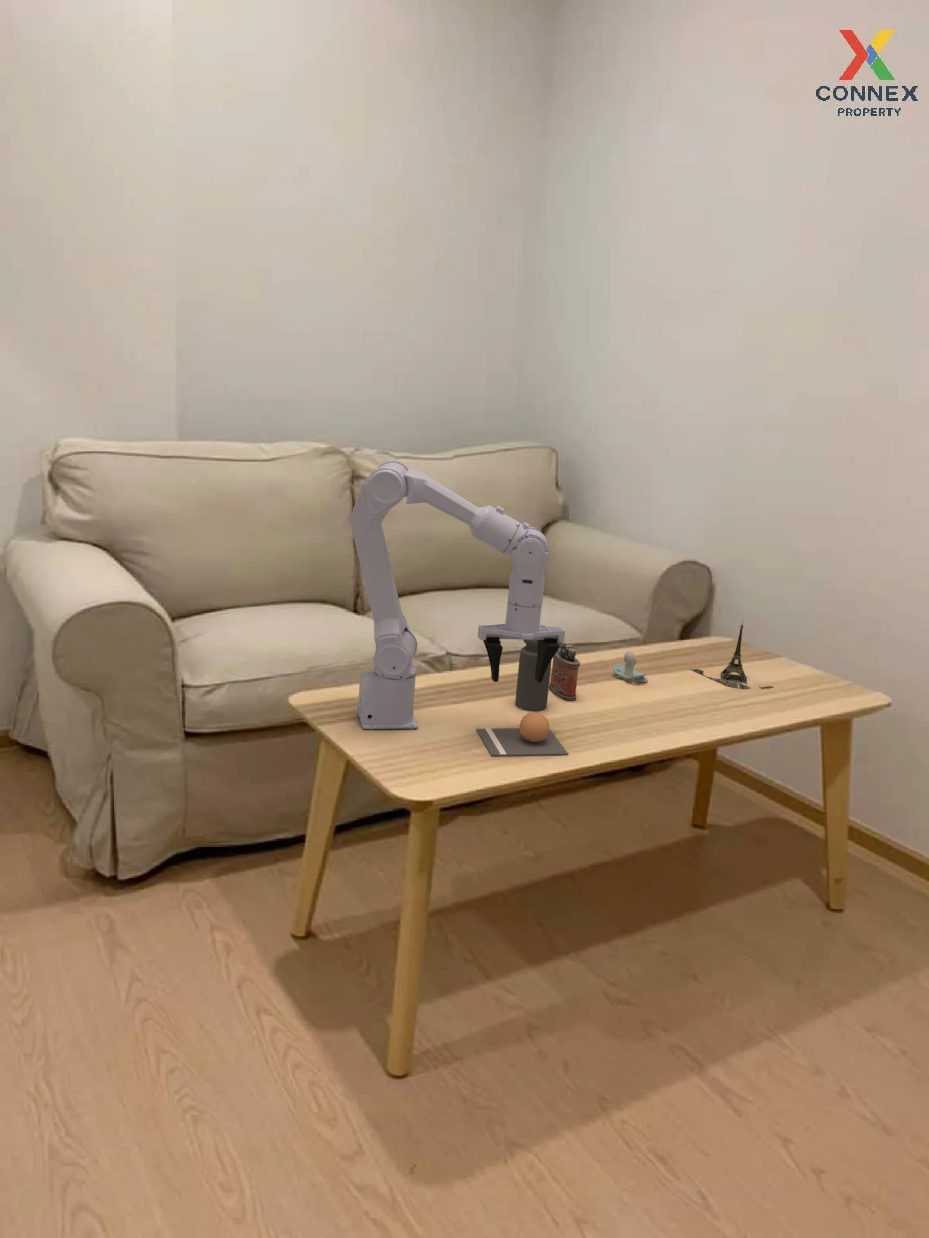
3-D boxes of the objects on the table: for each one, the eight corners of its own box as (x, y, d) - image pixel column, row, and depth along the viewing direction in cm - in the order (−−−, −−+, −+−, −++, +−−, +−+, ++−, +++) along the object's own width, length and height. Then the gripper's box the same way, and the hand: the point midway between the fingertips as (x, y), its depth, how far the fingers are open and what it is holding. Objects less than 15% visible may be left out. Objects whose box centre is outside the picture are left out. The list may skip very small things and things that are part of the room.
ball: (522, 747, 168) (525, 718, 167) (514, 735, 173) (517, 707, 171) (551, 746, 169) (554, 718, 168) (543, 734, 174) (545, 707, 172)
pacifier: (628, 672, 212) (608, 675, 208) (632, 644, 210) (612, 646, 207) (654, 683, 207) (633, 687, 203) (659, 654, 205) (638, 657, 201)
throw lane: (491, 756, 164) (491, 754, 164) (476, 730, 174) (476, 728, 174) (568, 755, 167) (568, 753, 167) (548, 729, 177) (549, 727, 177)
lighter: (579, 700, 192) (585, 650, 190) (563, 702, 191) (569, 651, 188) (560, 686, 200) (565, 637, 197) (545, 687, 198) (550, 638, 196)
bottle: (520, 711, 184) (528, 632, 180) (510, 700, 190) (518, 623, 186) (551, 710, 186) (559, 632, 182) (540, 699, 191) (548, 623, 187)
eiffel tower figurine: (688, 671, 217) (696, 611, 213) (722, 666, 222) (731, 608, 218) (739, 695, 204) (749, 632, 201) (775, 689, 210) (785, 627, 206)
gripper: (487, 608, 163) (479, 687, 167) (573, 610, 166) (564, 688, 170) (478, 596, 169) (471, 673, 173) (561, 599, 173) (552, 674, 176)
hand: (516, 680), depth 172 cm, fingers open, 7 cm apart
